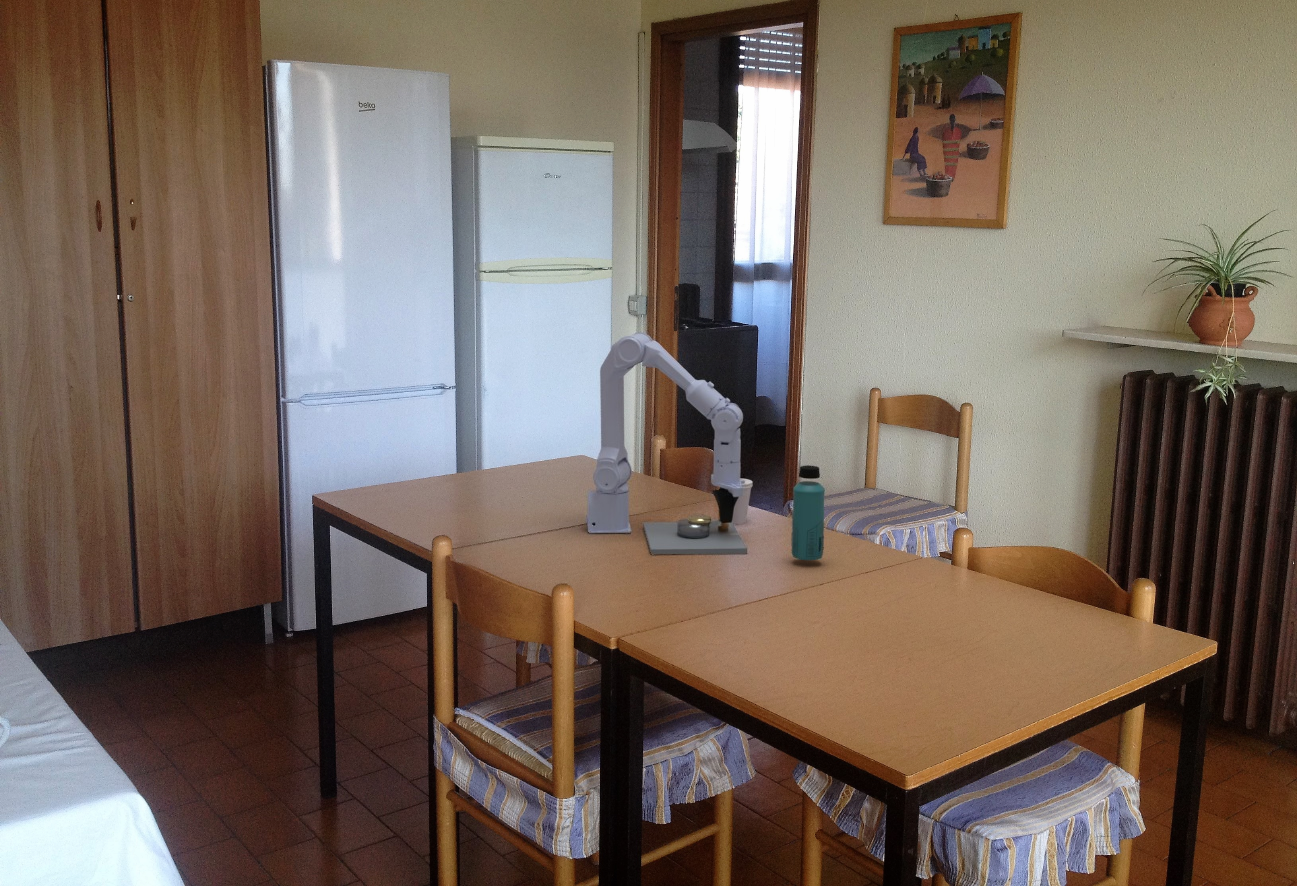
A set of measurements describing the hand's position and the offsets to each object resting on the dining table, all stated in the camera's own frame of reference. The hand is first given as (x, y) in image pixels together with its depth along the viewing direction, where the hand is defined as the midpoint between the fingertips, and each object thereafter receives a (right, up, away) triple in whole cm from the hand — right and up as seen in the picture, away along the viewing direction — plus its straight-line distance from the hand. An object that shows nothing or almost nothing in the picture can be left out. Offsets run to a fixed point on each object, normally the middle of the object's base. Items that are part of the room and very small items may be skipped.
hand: (725, 522), depth 252 cm
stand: (-7, -4, -1) cm, 8 cm away
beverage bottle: (+15, -7, -17) cm, 24 cm away
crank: (-5, -2, 0) cm, 5 cm away
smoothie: (+4, -1, +15) cm, 15 cm away
